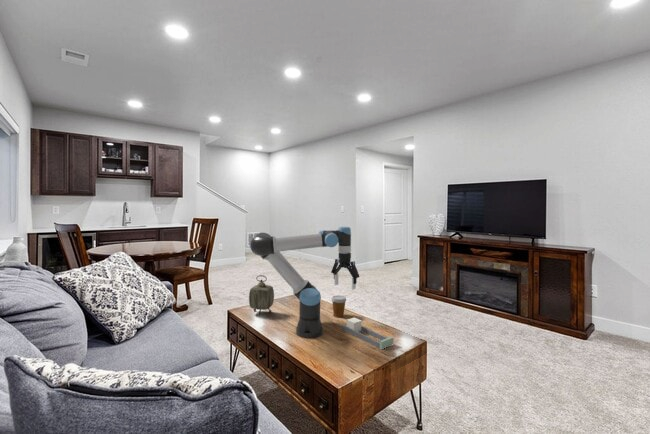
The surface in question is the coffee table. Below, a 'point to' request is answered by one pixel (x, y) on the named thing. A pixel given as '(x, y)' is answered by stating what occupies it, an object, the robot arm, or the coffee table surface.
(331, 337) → the coffee table surface
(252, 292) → the tabletop clock
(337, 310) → the disposable coffee cup
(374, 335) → the chute
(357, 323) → the block
